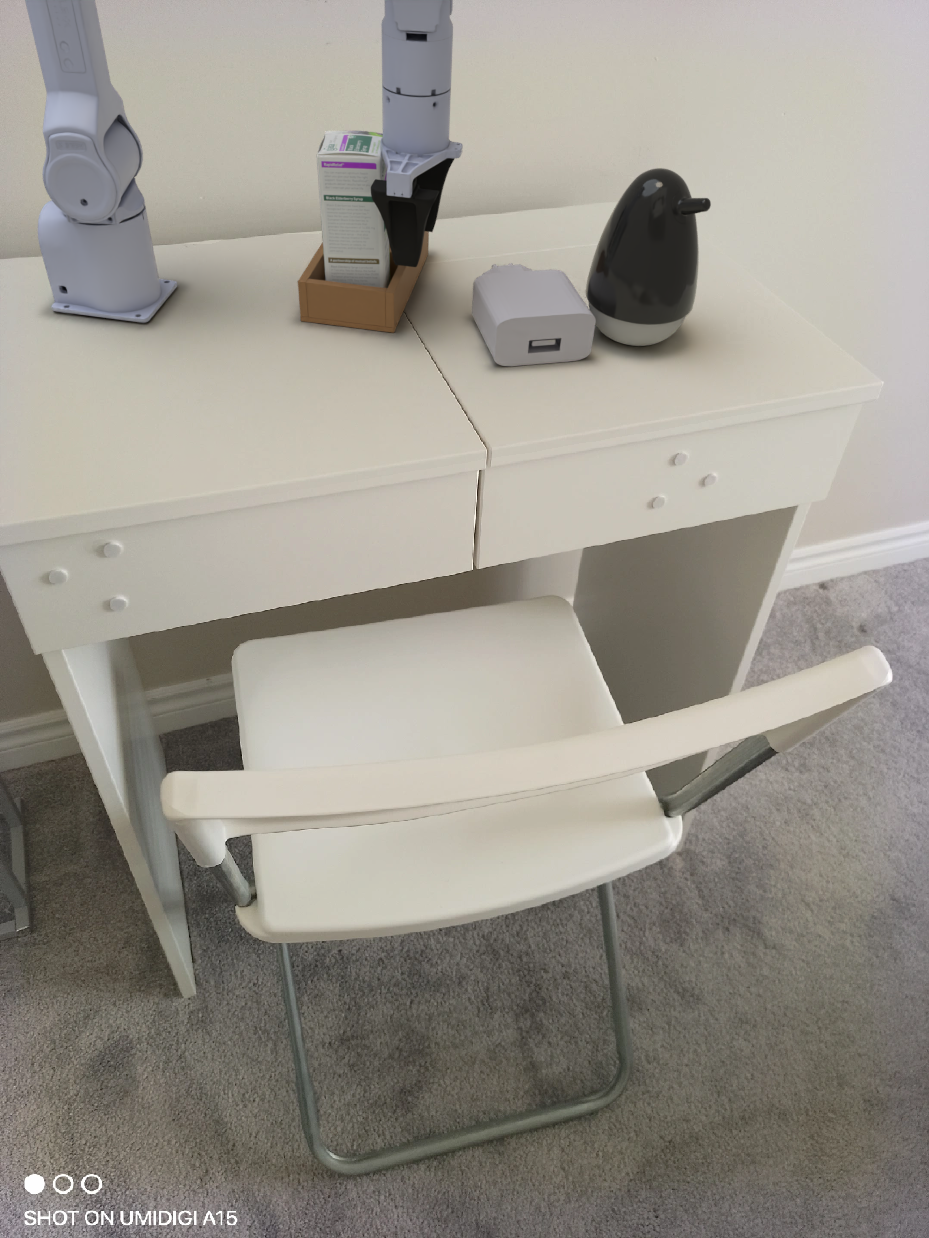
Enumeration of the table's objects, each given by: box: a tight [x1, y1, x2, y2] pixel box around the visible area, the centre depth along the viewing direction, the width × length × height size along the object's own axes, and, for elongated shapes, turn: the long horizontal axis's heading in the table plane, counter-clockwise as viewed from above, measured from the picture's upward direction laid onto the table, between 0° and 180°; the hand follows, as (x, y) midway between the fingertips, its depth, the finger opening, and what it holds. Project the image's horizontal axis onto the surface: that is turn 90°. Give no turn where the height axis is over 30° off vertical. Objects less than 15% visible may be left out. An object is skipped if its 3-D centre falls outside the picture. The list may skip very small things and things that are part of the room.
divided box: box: [297, 231, 430, 334], centre depth 95 cm, size 9×17×4 cm, turn 171°
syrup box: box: [315, 129, 390, 288], centre depth 88 cm, size 6×6×14 cm
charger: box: [471, 262, 596, 367], centre depth 91 cm, size 5×9×15 cm
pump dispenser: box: [585, 167, 712, 347], centre depth 87 cm, size 10×10×15 cm
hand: (414, 246), depth 89 cm, fingers open, 7 cm apart
